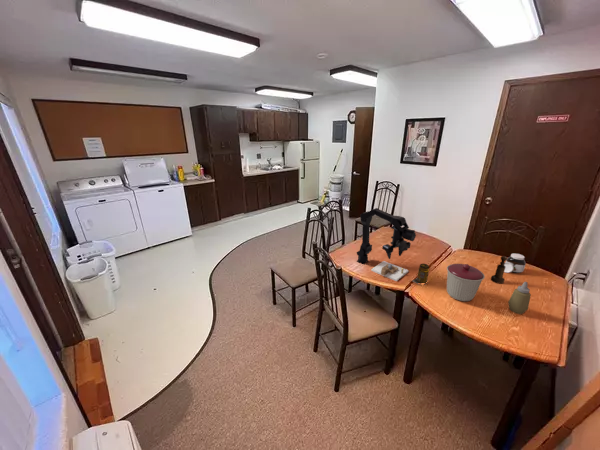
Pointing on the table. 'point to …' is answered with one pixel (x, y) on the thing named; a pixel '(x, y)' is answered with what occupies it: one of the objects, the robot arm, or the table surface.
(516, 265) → the spread jar
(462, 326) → the table surface
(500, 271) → the pepper mill
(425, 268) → the condiment
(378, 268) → the board
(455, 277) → the canister
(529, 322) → the table surface
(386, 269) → the block
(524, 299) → the squeeze bottle
